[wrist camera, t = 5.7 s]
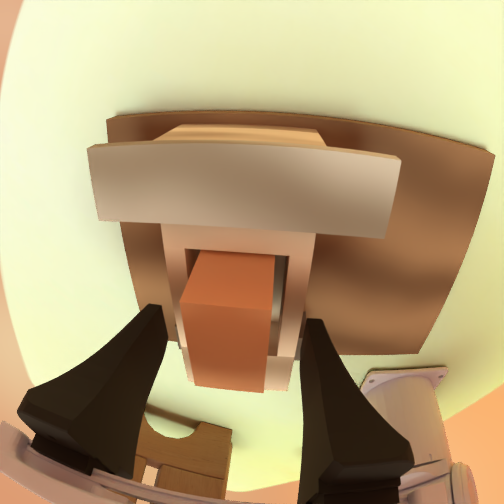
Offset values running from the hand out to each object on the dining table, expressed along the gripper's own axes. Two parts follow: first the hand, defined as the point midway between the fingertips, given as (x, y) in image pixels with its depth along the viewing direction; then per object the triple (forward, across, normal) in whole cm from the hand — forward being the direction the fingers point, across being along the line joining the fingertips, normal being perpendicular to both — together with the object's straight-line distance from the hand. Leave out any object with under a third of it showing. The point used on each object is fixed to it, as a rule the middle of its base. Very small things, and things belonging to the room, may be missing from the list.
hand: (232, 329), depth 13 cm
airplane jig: (+6, -3, 0) cm, 6 cm away
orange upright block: (+4, 0, 0) cm, 4 cm away
